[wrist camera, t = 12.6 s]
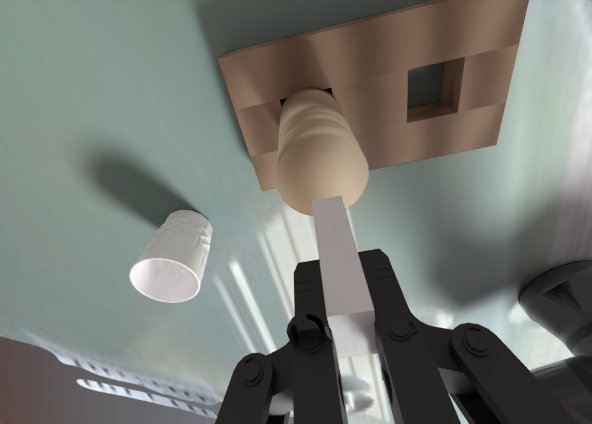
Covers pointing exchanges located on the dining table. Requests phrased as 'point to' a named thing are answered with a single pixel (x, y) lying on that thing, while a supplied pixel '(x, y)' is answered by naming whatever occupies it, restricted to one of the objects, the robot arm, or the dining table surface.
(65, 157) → the dining table surface
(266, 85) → the walnut board
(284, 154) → the beech peg
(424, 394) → the robot arm
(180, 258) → the white cup
